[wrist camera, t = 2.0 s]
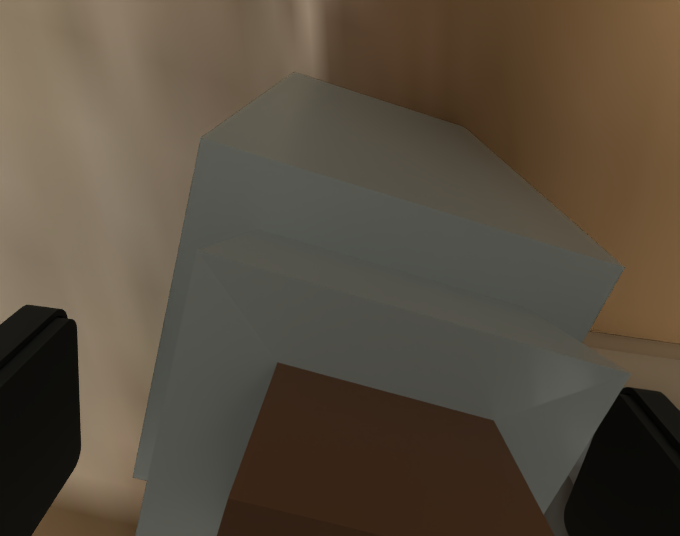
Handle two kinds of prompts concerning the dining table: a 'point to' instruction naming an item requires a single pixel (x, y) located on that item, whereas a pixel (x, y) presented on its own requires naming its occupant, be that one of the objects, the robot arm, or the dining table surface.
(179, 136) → the dining table surface
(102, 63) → the dining table surface
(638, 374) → the stand
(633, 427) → the robot arm
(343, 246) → the perfume bottle
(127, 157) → the dining table surface
